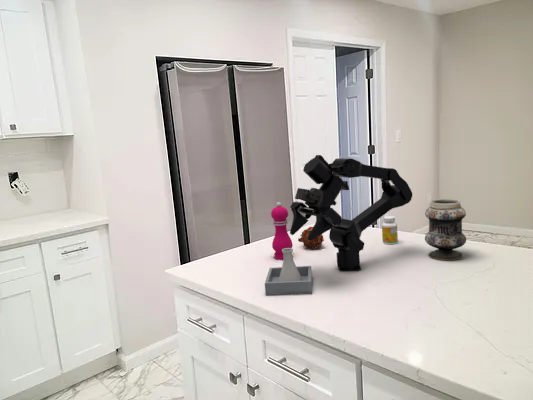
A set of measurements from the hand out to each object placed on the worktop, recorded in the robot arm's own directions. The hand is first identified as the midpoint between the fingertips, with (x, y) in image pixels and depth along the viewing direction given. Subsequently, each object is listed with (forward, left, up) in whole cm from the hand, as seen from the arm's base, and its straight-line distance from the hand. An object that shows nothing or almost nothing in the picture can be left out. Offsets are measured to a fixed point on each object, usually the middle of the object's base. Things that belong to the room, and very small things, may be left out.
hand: (299, 237), depth 114 cm
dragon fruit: (-2, -35, -14) cm, 38 cm away
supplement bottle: (-31, -35, -14) cm, 49 cm away
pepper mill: (+8, -24, -14) cm, 29 cm away
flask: (+4, +2, -13) cm, 14 cm away
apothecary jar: (-45, -17, -14) cm, 50 cm away
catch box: (+4, +3, -14) cm, 14 cm away
